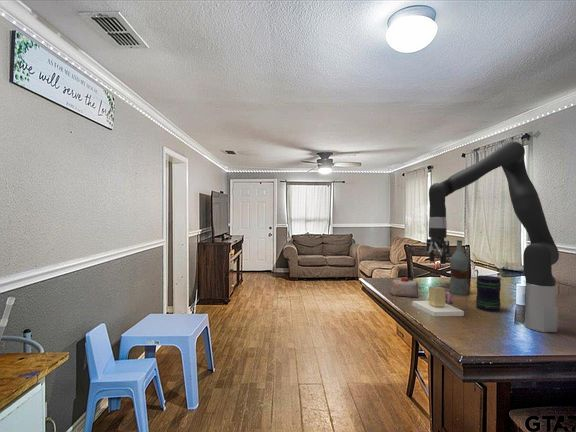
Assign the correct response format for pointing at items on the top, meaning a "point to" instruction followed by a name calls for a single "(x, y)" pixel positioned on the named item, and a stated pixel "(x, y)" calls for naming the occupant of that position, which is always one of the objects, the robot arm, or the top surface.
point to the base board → (437, 309)
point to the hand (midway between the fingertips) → (437, 262)
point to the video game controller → (448, 297)
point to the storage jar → (488, 293)
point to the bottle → (459, 271)
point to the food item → (405, 288)
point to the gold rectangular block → (436, 296)
